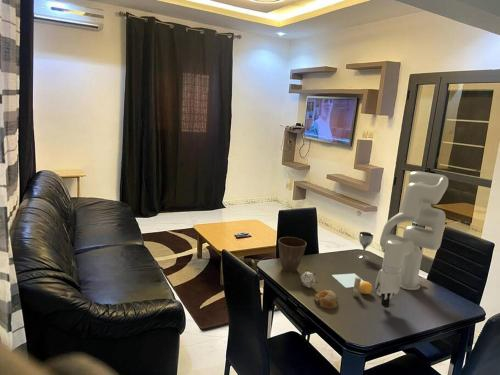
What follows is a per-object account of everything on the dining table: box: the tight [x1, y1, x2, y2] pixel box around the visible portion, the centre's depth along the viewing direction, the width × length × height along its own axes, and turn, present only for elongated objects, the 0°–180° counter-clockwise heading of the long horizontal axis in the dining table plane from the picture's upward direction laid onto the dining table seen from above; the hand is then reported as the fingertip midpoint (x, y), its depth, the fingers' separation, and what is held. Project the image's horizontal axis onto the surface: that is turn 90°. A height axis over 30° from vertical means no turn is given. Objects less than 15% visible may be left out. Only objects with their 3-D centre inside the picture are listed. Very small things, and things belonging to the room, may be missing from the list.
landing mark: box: [331, 273, 365, 289], centre depth 192 cm, size 14×14×1 cm
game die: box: [298, 269, 319, 290], centre depth 181 cm, size 9×8×10 cm
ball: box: [359, 280, 373, 295], centre depth 179 cm, size 6×6×6 cm
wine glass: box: [356, 231, 374, 261], centre depth 224 cm, size 8×8×15 cm
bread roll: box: [313, 289, 338, 309], centre depth 167 cm, size 10×10×8 cm
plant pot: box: [278, 236, 307, 273], centre depth 198 cm, size 15×15×16 cm
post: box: [352, 276, 362, 298], centre depth 175 cm, size 3×3×9 cm
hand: (384, 306), depth 166 cm, fingers closed
